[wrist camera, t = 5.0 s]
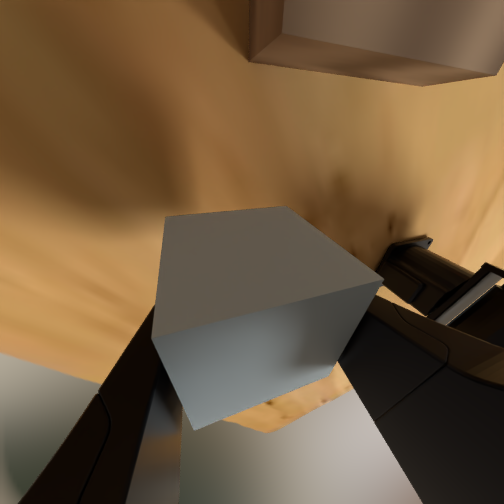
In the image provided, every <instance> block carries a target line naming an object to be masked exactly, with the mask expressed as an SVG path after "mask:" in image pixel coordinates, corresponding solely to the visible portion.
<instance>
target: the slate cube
mask: <svg viewBox="0 0 504 504" xmlns="http://www.w3.org/2000/svg"><path fill="white" fill-rule="evenodd" d="M383 281H384V278H382V277H381V276H380V275H378V274H377V273H376V272H374V271H373V270H372V269H370V268H369V267H368V266H366V265H365V264H364V263H362V262H361V261H360V260H358V259H357V258H355V257H354V256H353V255H351V254H350V253H349V252H347V251H346V250H345V249H343V248H342V247H341V246H339V245H338V244H337V243H335V242H334V241H333V240H331V239H330V238H329V237H327V236H326V235H325V234H323V233H322V232H321V231H319V230H318V229H317V228H315V227H314V226H313V225H311V224H310V223H309V222H307V221H306V220H305V219H303V218H302V217H301V216H299V215H298V214H297V213H295V212H294V211H293V210H291V209H290V208H289V207H287V206H280V207H269V208H258V209H246V210H235V211H224V212H213V213H201V214H190V215H179V216H168V217H165V224H164V233H163V242H162V250H161V259H160V267H159V276H158V285H157V293H156V302H155V310H154V319H153V328H152V336H151V339H152V341H153V343H154V345H155V348H156V350H157V352H158V354H159V356H160V358H161V360H162V363H163V365H164V367H165V369H166V371H167V373H168V375H169V378H170V380H171V382H172V384H173V386H174V388H175V390H176V393H177V395H178V397H179V399H180V401H181V403H182V405H183V408H184V410H185V412H186V414H187V416H188V418H189V420H190V422H191V425H192V427H193V429H194V430H197V429H199V428H202V427H204V426H207V425H209V424H212V423H214V422H216V421H219V420H222V419H224V418H226V417H229V416H231V415H234V414H236V413H239V412H241V411H244V410H246V409H249V408H251V407H254V406H256V405H258V404H261V403H263V402H266V401H268V400H271V399H273V398H276V397H278V396H281V395H283V394H286V393H288V392H291V391H293V390H295V389H298V388H300V387H303V386H305V385H308V384H310V383H313V382H315V381H318V380H320V379H323V378H325V377H327V376H329V374H330V373H331V371H332V369H333V367H334V366H335V364H336V362H337V360H338V359H339V357H340V355H341V353H342V352H343V350H344V348H345V346H346V345H347V343H348V341H349V340H350V338H351V336H352V334H353V333H354V331H355V329H356V327H357V326H358V324H359V322H360V320H361V319H362V317H363V315H364V313H365V312H366V310H367V308H368V307H369V305H370V303H371V301H372V300H373V298H374V296H375V294H376V293H377V291H378V289H379V287H380V286H381V284H382V282H383Z"/></svg>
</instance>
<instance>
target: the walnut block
mask: <svg viewBox="0 0 504 504" xmlns="http://www.w3.org/2000/svg"><path fill="white" fill-rule="evenodd" d="M249 62H253V63H260V64H267V65H274V66H281V67H288V68H295V69H302V70H309V71H316V72H323V73H330V74H337V75H345V76H352V77H359V78H366V79H373V80H380V81H387V82H394V83H401V84H408V85H415V86H422V87H423V86H429V85H436V84H442V83H449V82H456V81H462V80H469V79H475V78H482V77H488V76H495V75H497V73H498V71H499V70H500V68H501V66H502V64H503V62H504V0H250V2H249Z"/></svg>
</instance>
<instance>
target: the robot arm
mask: <svg viewBox="0 0 504 504" xmlns="http://www.w3.org/2000/svg"><path fill="white" fill-rule="evenodd" d="M432 241H433V239H432V238H429V237H427V238H422V239H417V240H411V241H406V242H400V243H395V244H392V245H391V246H390V247H389V249H388V251H387V253H386V255H385V257H384V259H383V260H382V262H381V264H380V266H379V268H378V270H377V272H376V273H377V274H378V275H380V276H381V277H382V278H384V281H383V282H382V284H381V286H385V287H386V288H388V289H389V290H390V291H392V292H393V293H394V294H395V295H397V296H398V297H399V298H401V299H402V300H403V301H404V302H406V303H407V304H410V305H411V306H413V307H414V308H415V309H417V310H418V311H419V312H420V313H422V314H423V315H424V316H427V317H424V316H421V315H419V314H417V313H415V312H412V311H410V310H408V309H406V308H403V307H401V306H399V305H397V304H395V303H391V302H390V301H388V300H386V299H384V298H382V297H379V296H377V295H375V296H374V298H373V300H372V301H371V303H370V305H369V307H368V308H367V310H366V312H365V313H364V315H363V317H362V319H361V320H360V322H359V324H358V326H357V327H356V329H355V331H354V333H353V334H352V336H351V338H350V340H349V341H348V343H347V345H346V346H345V348H344V350H343V352H342V353H341V355H340V357H339V359H338V360H337V361H338V363H339V364H340V366H341V368H342V369H343V371H344V373H345V374H346V376H347V378H348V379H349V381H350V383H351V384H352V386H353V388H354V389H355V391H356V393H357V394H358V396H359V398H360V399H361V401H362V403H363V404H364V406H365V408H366V409H367V411H368V413H369V414H370V416H371V418H372V419H373V421H374V423H375V425H376V426H377V428H378V429H379V431H380V433H381V434H382V436H383V438H384V440H385V441H386V443H387V445H388V446H389V448H390V450H391V451H392V453H393V455H394V456H395V458H396V459H397V461H398V463H399V465H400V466H401V468H402V469H403V471H404V472H405V474H406V476H407V478H408V479H409V481H410V483H411V484H412V486H413V488H414V489H415V491H416V493H417V494H418V496H419V498H420V499H421V501H422V503H423V504H504V284H503V285H502V286H499V285H494V284H496V283H497V282H498V281H499V280H501V279H502V278H504V269H502V268H499V267H497V266H494V265H491V264H489V263H486V262H485V263H484V264H483V265H482V266H481V269H480V270H478V271H477V272H476V273H473V272H471V271H469V270H467V269H465V268H463V267H461V266H459V265H457V264H455V263H453V262H451V261H449V260H447V259H445V258H443V257H441V256H439V255H437V254H435V253H433V252H431V251H429V250H427V249H428V248H429V246H430V245H431V243H432ZM493 285H494V286H493ZM381 286H380V287H381ZM492 286H493V287H492ZM491 287H492V288H491ZM490 288H491V289H490ZM488 289H489V290H488ZM487 290H488V291H487ZM486 291H487V292H486ZM485 292H486V293H485ZM484 293H485V294H484ZM482 294H483V295H482ZM481 295H482V296H481ZM480 296H481V297H480ZM479 297H480V298H479ZM478 298H479V299H478ZM476 299H477V300H476ZM475 300H476V301H475ZM474 301H475V302H474ZM473 302H474V303H473ZM472 303H473V304H472ZM470 304H471V305H470ZM469 305H470V306H469ZM468 306H469V307H468ZM467 307H468V308H467ZM464 309H465V310H464ZM154 310H155V305H154V306H153V308H152V309H151V311H150V312H149V314H148V315H147V317H146V319H145V320H144V322H143V323H142V325H141V326H140V328H139V329H138V331H137V332H136V334H135V335H134V337H133V338H132V340H131V341H130V343H129V344H128V346H127V347H126V349H125V350H124V352H123V353H122V355H121V356H120V358H119V360H118V361H117V363H116V364H115V366H114V367H113V369H112V370H111V372H110V373H109V375H108V376H107V378H106V379H105V381H104V382H103V384H102V385H101V387H100V388H99V390H98V394H95V396H94V397H93V399H92V400H91V402H90V403H89V405H88V406H87V408H86V409H85V411H84V412H83V414H82V415H81V417H80V418H79V420H78V421H77V423H76V424H75V426H74V427H73V429H72V430H71V431H70V433H69V435H68V436H67V437H66V439H65V440H64V442H63V443H62V444H61V446H60V447H59V449H58V450H57V451H56V453H55V454H54V456H53V457H52V458H51V459H50V461H49V462H48V464H47V465H46V466H45V468H44V469H43V470H42V472H41V473H40V474H39V476H38V477H37V479H36V480H35V481H34V483H33V484H32V485H31V487H30V488H29V489H28V491H27V492H26V493H25V495H24V496H23V497H22V499H21V500H20V501H19V502H18V504H179V482H180V481H179V480H180V456H181V431H182V407H183V405H182V403H181V401H180V399H179V397H178V395H177V393H176V390H175V388H174V386H173V384H172V382H171V380H170V378H169V375H168V373H167V371H166V369H165V367H164V365H163V363H162V360H161V358H160V356H159V354H158V352H157V350H156V348H155V345H154V343H153V341H152V339H151V336H152V328H153V319H154ZM463 310H464V311H463ZM462 311H463V312H462ZM461 312H462V313H461ZM459 313H460V314H459ZM458 314H459V315H458ZM457 315H458V316H457ZM456 316H457V317H456ZM455 317H456V318H455ZM453 318H454V319H453ZM452 319H453V320H452ZM451 320H452V321H451ZM450 321H451V322H450ZM449 322H450V323H449ZM447 323H448V324H447ZM446 324H447V325H446Z"/></svg>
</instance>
